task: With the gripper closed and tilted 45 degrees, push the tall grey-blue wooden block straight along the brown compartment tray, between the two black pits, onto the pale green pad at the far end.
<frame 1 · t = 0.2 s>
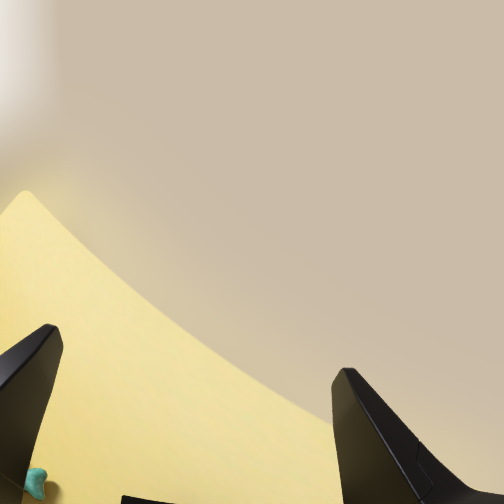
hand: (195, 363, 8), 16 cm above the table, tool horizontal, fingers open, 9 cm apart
whale figurine: (14, 477, 12), on the table
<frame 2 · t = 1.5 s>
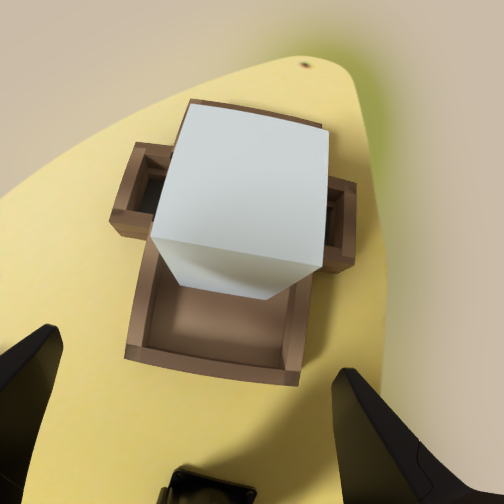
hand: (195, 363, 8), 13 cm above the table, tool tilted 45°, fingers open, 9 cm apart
brown compartment tray: (232, 236, 23), on the table
block: (230, 251, 22), point 1 cm above the table, touching brown compartment tray
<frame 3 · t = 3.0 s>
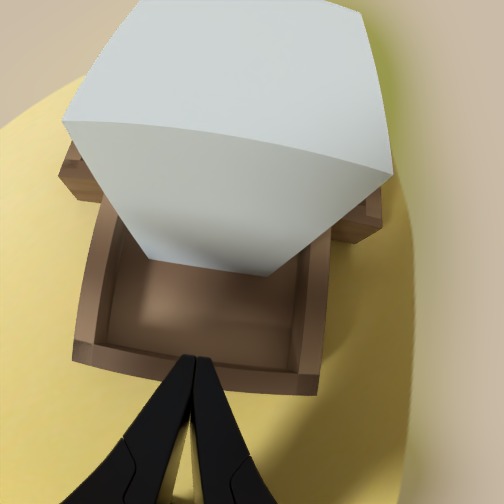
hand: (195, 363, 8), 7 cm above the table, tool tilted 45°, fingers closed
brown compartment tray: (219, 195, 17), on the table
block: (216, 212, 16), point 1 cm above the table, touching brown compartment tray
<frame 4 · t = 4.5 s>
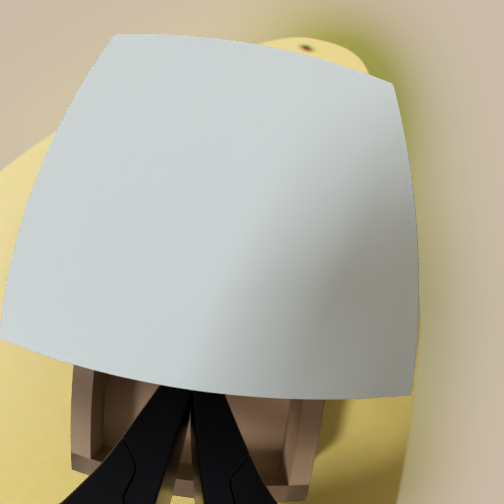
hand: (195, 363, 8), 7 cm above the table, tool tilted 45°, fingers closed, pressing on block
brown compartment tray: (210, 292, 16), on the table
block: (211, 285, 15), point 1 cm above the table, touching gripper
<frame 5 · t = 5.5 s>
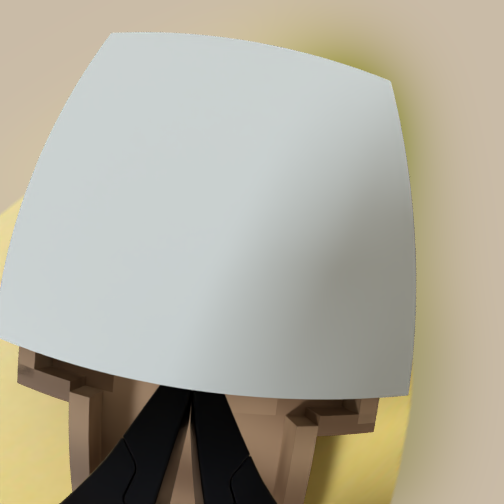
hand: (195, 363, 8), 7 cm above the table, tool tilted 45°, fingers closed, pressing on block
brown compartment tray: (195, 384, 14), on the table
block: (210, 284, 15), point 1 cm above the table, touching gripper
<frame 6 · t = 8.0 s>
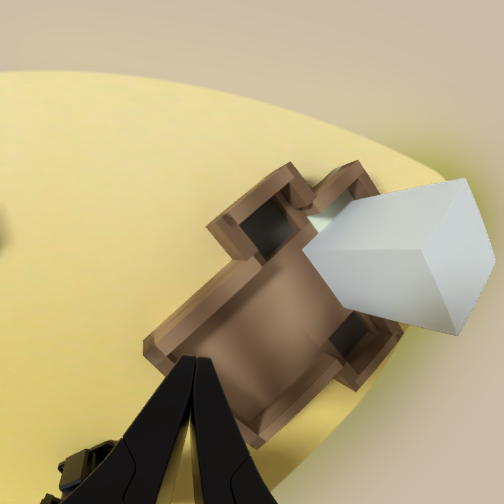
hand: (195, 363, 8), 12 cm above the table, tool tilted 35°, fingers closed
brown compartment tray: (292, 300, 23), on the table
block: (348, 254, 23), point 1 cm above the table, touching brown compartment tray
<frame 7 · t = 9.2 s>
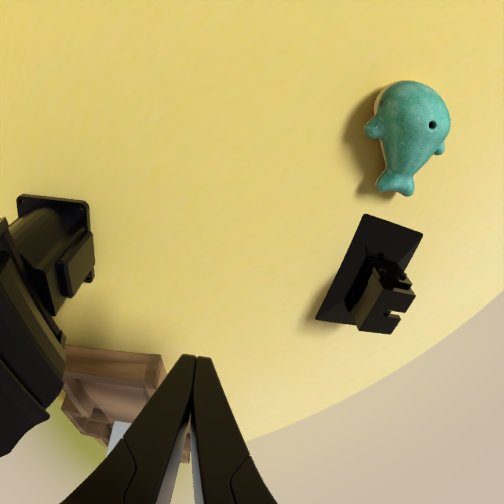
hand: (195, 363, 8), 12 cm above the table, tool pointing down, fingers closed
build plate: (365, 273, 23), on the table
brown compartment tray: (133, 405, 30), on the table
block: (143, 434, 32), point 1 cm above the table, touching brown compartment tray
whale figurine: (396, 134, 17), on the table
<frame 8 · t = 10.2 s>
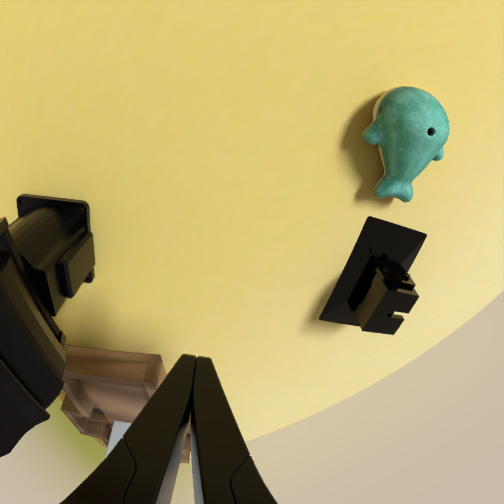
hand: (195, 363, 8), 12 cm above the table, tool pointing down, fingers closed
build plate: (369, 274, 23), on the table
brown compartment tray: (133, 405, 30), on the table
block: (142, 434, 32), point 1 cm above the table, touching brown compartment tray
whale figurine: (394, 140, 17), on the table
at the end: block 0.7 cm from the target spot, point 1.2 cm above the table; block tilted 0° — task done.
